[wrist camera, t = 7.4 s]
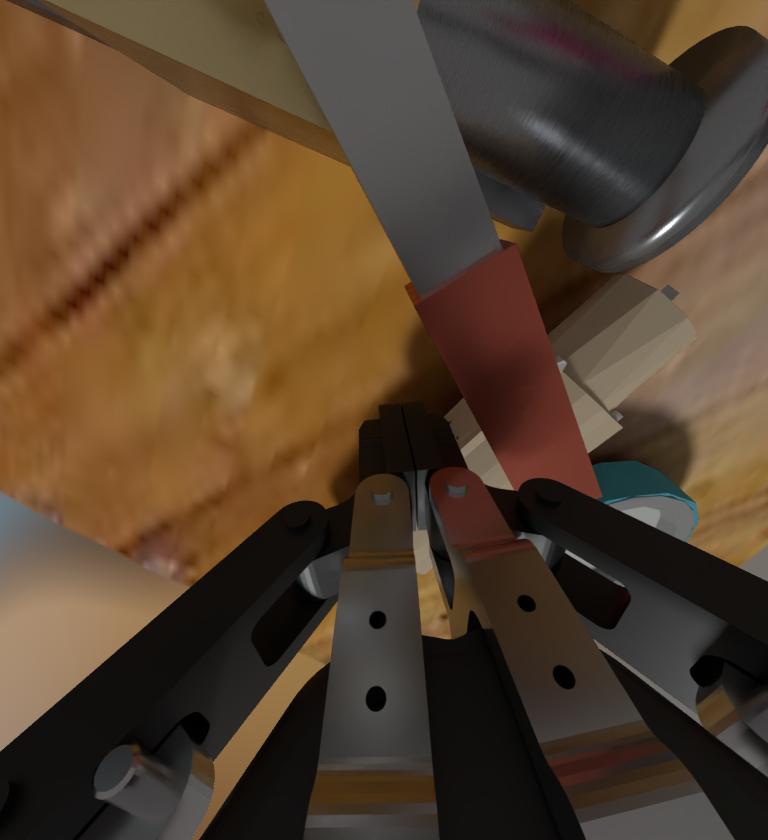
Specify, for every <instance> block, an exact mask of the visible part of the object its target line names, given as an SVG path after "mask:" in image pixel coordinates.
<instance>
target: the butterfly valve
mask: <svg viewBox="0 0 768 840" xmlns="http://www.w3.org/2000/svg"><path fill="white" fill-rule="evenodd" d="M678 293H679V292H677V291H676V290H675V289H673V288H672V287H671V286H669V285H667V286H666V287H665V288H664V289H662V290H661V291H659V290H658V289H656V288H654V287H652V286H650V285H648V284H646V283H644V282H641V281H639V280H637V279H635V278H633V277H631V276H629V275H627V274H621V275H616V276H613V277H612V278H611V279H610V280H609V281H608V282H606V283H605V284H604V285H603V286H602V287H601V288H600V289H599V290H597V291H596V292H595V293H594V294H593V295H592V296H591V297H590V298H588V299H587V300H586V301H585V302H584V303H583V304H582V305H581V306H579V307H578V308H577V309H576V310H575V311H574V312H573V313H572V314H570V315H569V316H568V317H567V318H566V319H565V320H564V321H563V322H561V323H560V324H559V325H558V326H557V327H556V328H555V329H553V330H552V331H551V332H550V333H549V334H548V338H549V341H550V344H551V347H552V350H553V353H554V356H555V359H556V362H557V365H558V368H559V371H560V374H561V376H562V379H563V382H564V385H565V388H566V391H567V394H568V397H569V400H570V403H571V406H572V409H573V412H574V415H575V417H576V420H577V423H578V426H579V429H580V432H581V435H582V438H583V441H584V444H585V447H586V450H587V453H590V452H591V451H592V450H594V449H595V448H596V447H598V446H599V445H600V444H602V443H603V442H604V441H606V440H607V439H608V438H610V437H611V436H613V435H614V434H615V433H617V432H618V431H619V430H621V429H622V428H623V427H622V426H621V425H620V424H619V423H618V421H619V420H620V419H621V418H622V417H623V416H622V415H621V414H620V413H619V412H617V411H616V410H615V408H616V407H617V406H618V405H619V404H620V403H621V402H622V401H623V400H624V399H625V398H626V397H627V396H629V395H630V394H631V393H632V392H633V391H634V390H635V389H636V388H637V387H638V386H640V385H641V384H642V383H643V382H644V381H646V380H647V379H648V378H649V377H651V376H652V375H653V374H654V373H655V372H657V371H658V370H659V369H660V368H661V367H663V366H664V365H665V364H666V363H667V362H669V361H670V360H671V359H672V358H674V357H675V356H676V355H677V354H678V353H680V352H681V351H682V350H683V349H684V348H686V347H687V346H688V345H689V344H690V343H692V342H693V341H694V340H695V339H696V338H697V336H698V335H697V333H696V331H695V328H694V326H693V324H692V322H691V320H690V318H689V316H687V315H686V314H685V313H684V312H683V311H682V310H681V309H680V308H678V307H677V306H676V305H675V304H674V303H673V302H672V300H673V299H674V298H675V297H676V296H677V295H678ZM444 418H445V419H446V420H447V421H448V422H449V424H450V427H451V429H452V433H453V434H454V436H455V439H456V441H457V443H458V446H459V448H460V450H461V453H462V455H463V457H464V460H465V462H466V464H467V467H468V469H469V470H471V471H472V472H474V473H476V474H477V475H478V476H479V477H480V478H481V480H482V481H483V483H484V484H486V485H488V486H491V487H495V488H500V489H507V490H514V489H513V487H512V485H511V484H510V482H509V480H508V478H507V476H506V474H505V473H504V471H503V469H502V467H501V465H500V463H499V461H498V460H497V458H496V456H495V454H494V452H493V450H492V449H491V447H490V445H489V443H488V441H487V439H486V438H485V436H484V434H483V432H482V430H481V428H480V427H479V425H478V423H477V421H476V419H475V417H474V415H473V414H472V412H471V410H470V408H469V406H468V404H467V403H466V401H465V399H464V398H463V399H462V400H461V401H460V402H459V403H458V404H456V405H455V406H454V407H453V408H452V409H451V410H450V411H449V412H448V413H447V414H446V415H445V416H444ZM592 467H593V470H594V473H595V476H596V479H597V482H598V485H599V488H600V491H601V494H602V497H600V498H598V499H596V500H598V501H601V502H603V503H605V504H607V505H609V506H611V507H613V508H615V509H617V510H619V511H621V512H623V513H626V514H628V515H630V516H632V517H634V518H636V519H638V520H640V521H642V522H644V523H646V524H649V525H651V526H653V527H655V528H657V529H659V530H661V531H663V532H665V533H667V534H669V535H671V536H674V537H676V538H678V539H680V540H682V541H684V542H686V541H687V540H688V539H689V537H690V535H691V533H692V531H693V530H694V528H695V526H696V524H697V522H698V520H699V518H698V512H697V506H696V502H694V501H693V500H692V499H691V498H690V497H689V496H688V495H687V494H685V493H684V492H683V491H682V490H681V489H680V488H679V487H677V486H676V485H675V484H674V483H673V482H672V481H671V480H670V479H668V478H667V477H666V476H665V475H664V474H663V473H662V472H661V471H659V470H657V469H654V468H652V467H650V466H647V465H645V464H642V463H640V462H638V461H635V460H634V461H619V462H604V463H598V464H594V465H592ZM413 548H414V554H415V562H416V573H420V574H426V573H427V572H428V571H430V570H431V569H432V568H433V565H432V562H431V558H430V555H429V538H428V533H427V530H419V531H418V527H417V522H416V531H413ZM565 553H566V554H568V555H570V556H571V557H573V558H575V559H576V560H578V561H580V562H581V563H583V564H584V565H586V566H588V567H589V568H591V569H593V570H594V571H596V572H598V573H599V574H601V575H603V576H604V577H606V578H608V579H609V580H611V581H612V582H614V583H616V584H618V585H620V586H622V585H623V584H621V583H620V582H619V581H617V580H616V579H614V578H613V577H611V576H609V575H608V574H606V573H604V572H603V571H601V570H599V569H598V568H596V567H594V566H593V565H591V564H589V563H588V562H586V561H584V560H583V559H581V558H579V557H578V556H576V555H574V554H573V553H571V552H569V551H568V550H566V552H565Z"/></svg>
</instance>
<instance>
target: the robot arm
mask: <svg viewBox="0 0 768 840" xmlns="http://www.w3.org/2000/svg"><path fill="white" fill-rule="evenodd" d="M379 414H380V419H376V420H366V421H364V423H363V424H362V426H361V427H360V429H359V466H360V483H359V485H358V487H357V489H356V492H355V494H354V495H353V496H352V497H351V498H350V499H348V500H347V501H345V502H343V503H341V504H339V505H336V506H334V507H331V508H328V509H326V510H325V508H324V507H323V506H322V505H320V504H319V503H317V502H314V501H298V502H294V503H291V504H289V505H287V506H285V507H284V508H282V509H281V510H280V511H278V512H277V513H276V514H275V515H274V516H273V517H271V518H270V519H269V520H268V521H267V522H266V523H264V524H263V525H262V526H261V527H260V528H259V529H257V530H256V531H255V532H254V533H253V534H252V535H251V536H249V537H248V538H247V539H246V540H245V541H244V542H242V543H241V544H240V545H239V546H238V547H237V548H235V549H234V550H233V551H232V552H231V553H230V554H229V555H227V556H226V557H225V558H224V559H223V560H222V561H220V562H219V563H218V564H217V565H216V566H215V567H213V568H212V569H211V570H210V571H209V572H208V573H207V574H205V575H204V576H203V577H202V578H201V579H200V580H198V581H197V582H196V583H195V584H194V585H193V586H191V587H190V588H189V589H188V590H187V591H186V592H185V593H183V594H182V595H181V596H180V597H179V598H178V599H176V600H175V601H174V602H173V603H172V604H171V605H169V606H168V607H167V608H166V609H165V610H164V611H163V612H161V613H160V614H159V615H158V616H157V617H156V618H154V619H153V620H152V621H151V622H150V623H149V624H148V625H146V626H145V627H144V628H143V629H142V630H141V631H139V632H138V633H137V634H136V635H135V636H134V637H133V638H131V639H130V640H129V641H128V642H127V643H126V644H124V645H123V646H122V647H121V648H120V649H119V650H117V651H116V652H115V653H114V654H113V655H112V656H111V657H109V658H108V659H107V660H106V661H105V662H104V663H102V664H101V665H100V666H99V667H98V668H97V669H95V670H94V671H93V672H92V673H91V674H90V675H89V676H87V677H86V678H85V679H84V680H83V681H82V682H81V683H79V684H78V685H77V686H76V687H75V688H73V689H72V690H71V691H70V692H69V693H68V694H66V695H65V696H64V697H63V698H62V699H61V700H60V701H58V702H57V703H56V704H55V705H54V706H53V707H52V708H50V709H49V710H48V711H47V712H46V713H44V714H43V715H42V716H41V717H40V718H39V719H38V720H36V721H35V722H34V723H33V724H32V725H31V726H29V727H28V728H27V729H26V730H25V731H24V732H23V733H21V734H20V735H19V736H18V737H17V738H16V739H14V740H13V741H12V742H11V743H10V744H9V745H7V746H6V747H5V748H4V749H3V750H2V751H0V840H191V839H192V838H193V836H194V834H195V833H196V831H197V829H198V827H199V825H200V824H201V822H202V821H203V818H204V816H205V814H206V812H207V810H208V807H209V804H210V801H211V797H212V794H213V789H214V782H215V771H214V764H213V761H214V760H215V759H216V758H217V756H218V755H219V753H220V752H221V751H222V750H223V748H224V747H225V746H226V745H227V743H228V742H229V741H230V739H231V738H232V737H233V735H234V734H235V733H236V732H237V730H238V729H239V728H240V726H241V725H242V724H243V723H244V721H245V720H246V719H247V717H248V716H249V715H250V714H251V712H252V711H253V710H254V708H255V707H256V706H257V704H258V703H259V702H260V701H261V699H262V698H263V697H264V695H265V694H266V693H267V691H268V690H269V689H270V687H271V686H272V685H273V684H274V682H275V681H276V680H277V678H278V677H279V676H280V675H281V673H282V672H283V671H284V670H285V668H286V667H287V666H288V664H289V663H290V662H291V660H292V659H293V658H294V657H295V655H296V654H297V653H298V651H299V650H300V649H301V648H302V646H303V645H304V644H305V642H306V641H307V640H308V638H309V637H310V636H311V635H312V633H313V632H314V631H315V629H316V628H317V627H318V625H319V624H320V623H321V622H322V620H323V619H324V618H325V616H326V615H327V614H328V613H329V611H330V610H331V609H332V607H333V606H334V605H335V603H336V602H337V601H338V603H337V611H336V619H335V628H334V636H333V644H332V653H331V661H330V663H328V664H327V665H326V666H324V667H323V668H322V669H321V670H319V671H318V672H317V673H316V674H315V675H314V676H313V677H312V678H311V679H310V680H309V681H308V682H307V683H306V684H305V685H304V686H303V688H302V689H301V690H300V691H299V692H298V693H297V695H296V696H295V698H294V699H293V701H292V702H291V703H290V705H289V707H288V708H287V709H286V711H285V712H284V714H283V715H282V717H281V718H280V720H279V721H278V723H277V724H276V726H275V727H274V729H273V730H272V732H271V733H270V735H269V736H268V738H267V739H266V741H265V742H264V744H263V745H262V747H261V748H260V750H259V751H258V753H257V754H256V756H255V757H254V759H253V760H252V762H251V763H250V765H249V766H248V768H247V769H246V771H245V772H244V774H243V775H242V776H241V778H240V779H239V781H238V783H237V784H236V786H235V787H234V789H233V790H232V791H231V793H230V795H229V796H228V798H227V799H226V800H225V802H224V804H223V805H222V807H221V808H220V809H219V811H218V812H217V814H216V815H215V817H214V818H213V820H212V821H211V823H210V824H209V826H208V827H207V829H206V830H205V832H204V833H203V835H202V836H201V838H200V839H199V840H768V582H767V581H765V580H763V579H761V578H759V577H757V576H755V575H753V574H751V573H749V572H747V571H744V570H742V569H740V568H738V567H736V566H734V565H732V564H730V563H728V562H726V561H724V560H722V559H719V558H717V557H715V556H713V555H711V554H709V553H707V552H705V551H703V550H701V549H699V548H697V547H694V546H692V545H690V544H688V543H686V542H684V541H682V540H680V539H678V538H676V537H674V536H671V535H669V534H667V533H665V532H663V531H661V530H659V529H657V528H655V527H653V526H651V525H649V524H646V523H644V522H642V521H640V520H638V519H636V518H634V517H632V516H630V515H628V514H626V513H623V512H621V511H619V510H617V509H615V508H613V507H611V506H609V505H607V504H605V503H603V502H601V501H598V500H596V499H594V498H592V497H590V496H588V495H586V494H584V493H582V492H580V491H578V490H575V489H573V488H571V487H569V486H567V485H565V484H563V483H561V482H558V481H556V480H552V479H548V478H533V479H529V480H527V481H525V482H524V483H522V484H521V486H520V487H519V490H518V491H515V490H507V489H500V488H495V487H491V486H488V485H486V484H484V483H483V481H482V480H481V478H480V477H479V476H478V475H477V474H476V473H474V472H472V471H471V470H469V469H468V467H467V464H466V462H465V460H464V457H463V455H462V453H461V450H460V448H459V446H458V443H457V441H456V439H455V436H454V434H453V433H452V429H451V427H450V424H449V422H448V421H447V420H446V419H445V418H444V417H442V416H441V415H440V414H428V415H427V414H426V411H425V408H424V405H423V402H422V401H414V402H404V403H401V407H400V403H394V404H384V405H379ZM416 522H417V527H418V531H419V530H427V533H428V538H429V555H430V558H431V562H432V565H433V568H434V572H435V575H436V578H437V582H438V585H439V588H440V592H441V595H442V598H443V602H444V605H445V608H446V611H447V615H448V619H449V624H450V630H451V638H452V639H450V640H449V639H441V638H436V637H430V636H424V635H422V633H421V621H420V609H419V597H418V585H417V573H416V562H415V554H414V548H413V531H416ZM566 550H568V551H569V552H571V553H573V554H574V555H576V556H578V557H579V558H581V559H583V560H584V561H586V562H588V563H589V564H591V565H593V566H594V567H596V568H598V569H599V570H601V571H603V572H604V573H606V574H608V575H609V576H611V577H613V578H614V579H616V580H617V581H619V582H620V583H621V584H623V585H624V586H625V587H622V586H620V585H618V584H616V583H614V582H612V581H611V580H609V579H608V578H606V577H604V576H603V575H601V574H599V573H598V572H596V571H594V570H593V569H591V568H589V567H588V566H586V565H584V564H583V563H581V562H580V561H578V560H576V559H575V558H573V557H571V556H570V555H568V554H566V553H565V552H566ZM593 639H595V640H596V641H597V642H599V643H600V644H602V645H603V646H605V647H606V648H607V649H608V650H610V651H611V652H613V653H614V654H615V655H617V656H618V657H619V658H621V659H623V661H625V662H626V663H628V664H629V665H630V666H632V667H633V668H634V669H636V670H637V671H639V672H640V673H641V674H643V675H644V676H646V677H647V678H648V679H650V680H651V681H652V682H654V683H655V684H657V685H658V686H659V687H660V688H662V689H663V690H665V691H666V692H668V693H669V694H670V695H671V696H673V697H674V698H676V699H677V700H678V701H680V702H681V703H682V704H684V705H685V706H687V707H688V708H690V709H691V710H692V711H693V712H695V713H696V714H698V716H699V719H700V721H701V724H702V726H703V727H702V726H701V725H700V724H698V723H697V722H696V721H695V720H693V719H692V718H691V717H689V716H688V715H687V714H685V713H684V712H683V711H682V710H680V709H679V708H678V707H676V706H675V705H674V704H673V703H671V702H670V701H669V700H667V699H666V698H665V697H664V696H662V695H661V694H660V693H658V692H657V691H656V690H655V689H653V688H652V687H651V686H649V685H648V684H647V683H646V682H644V681H643V680H642V679H640V678H639V677H638V676H636V675H635V674H634V673H633V672H631V671H630V670H629V669H627V668H626V667H625V666H624V665H622V664H621V663H620V662H618V661H617V660H616V659H614V658H612V657H611V656H610V655H608V654H607V653H605V652H603V651H602V650H600V649H599V648H598V646H597V644H596V643H595V641H594V640H593Z"/></svg>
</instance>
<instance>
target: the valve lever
mask: <svg viewBox="0 0 768 840" xmlns="http://www.w3.org/2000/svg"><path fill="white" fill-rule="evenodd" d="M263 1H264V3H265V5H266V7H267V9H268V11H269V13H270V15H271V17H272V19H273V20H274V22H275V24H276V26H277V28H278V30H279V32H280V34H281V36H282V38H283V39H284V41H285V43H286V45H287V47H288V49H289V51H290V53H291V55H292V57H293V58H294V60H295V62H296V64H297V66H298V68H299V70H300V72H301V74H302V75H303V77H304V79H305V81H306V83H307V85H308V87H309V89H310V91H311V93H312V94H313V96H314V98H315V100H316V102H317V104H318V106H319V108H320V110H321V112H322V113H323V115H324V117H325V119H326V121H327V123H328V125H329V127H330V129H331V130H332V132H333V134H334V136H335V138H336V140H337V142H338V144H339V146H340V148H341V149H342V151H343V153H344V155H345V157H346V159H347V161H348V163H349V165H350V167H351V168H352V170H353V172H354V174H355V176H356V178H357V180H358V182H359V184H360V185H361V187H362V189H363V191H364V193H365V195H366V197H367V199H368V201H369V203H370V204H371V206H372V208H373V210H374V212H375V214H376V216H377V218H378V220H379V222H380V223H381V225H382V227H383V229H384V231H385V233H386V235H387V237H388V239H389V240H390V242H391V244H392V246H393V248H394V250H395V252H396V254H397V256H398V258H399V259H400V261H401V263H402V265H403V267H404V269H405V271H406V273H407V275H408V277H409V278H410V280H411V282H410V283H409V284H407V285H405V286H404V287H405V289H406V291H407V293H408V295H409V297H410V299H411V301H412V303H413V305H414V307H415V309H416V311H417V312H418V314H419V316H420V318H421V320H422V322H423V324H424V325H425V327H426V329H427V331H428V333H429V335H430V336H431V338H432V340H433V342H434V344H435V346H436V347H437V349H438V351H439V353H440V355H441V357H442V358H443V360H444V362H445V364H446V366H447V368H448V370H449V371H450V373H451V375H452V377H453V379H454V381H455V382H456V384H457V386H458V388H459V390H460V392H461V393H462V395H463V397H464V399H465V401H466V403H467V404H468V406H469V408H470V410H471V412H472V414H473V415H474V417H475V419H476V421H477V423H478V425H479V427H480V428H481V430H482V432H483V434H484V436H485V438H486V439H487V441H488V443H489V445H490V447H491V449H492V450H493V452H494V454H495V456H496V458H497V460H498V461H499V463H500V465H501V467H502V469H503V471H504V473H505V474H506V476H507V478H508V480H509V482H510V484H511V485H512V487H513V489H514V490H515V491H518V490H519V487H520V486H521V484H522V483H524V482H525V481H527V480H529V479H533V478H548V479H552V480H556V481H558V482H561V483H563V484H565V485H567V486H569V487H571V488H573V489H575V490H578V491H580V492H582V493H584V494H586V495H588V496H590V497H592V498H594V499H598V498H600V497H602V494H601V491H600V488H599V485H598V482H597V479H596V476H595V473H594V470H593V467H592V464H591V461H590V458H589V456H588V453H587V450H586V447H585V444H584V441H583V438H582V435H581V432H580V429H579V426H578V423H577V420H576V417H575V415H574V412H573V409H572V406H571V403H570V400H569V397H568V394H567V391H566V388H565V385H564V382H563V379H562V376H561V374H560V371H559V368H558V365H557V362H556V359H555V356H554V353H553V350H552V347H551V344H550V341H549V338H548V335H547V333H546V330H545V327H544V324H543V321H542V318H541V315H540V312H539V309H538V306H537V303H536V300H535V297H534V294H533V291H532V289H531V286H530V283H529V280H528V277H527V274H526V271H525V268H524V265H523V262H522V259H521V256H520V253H519V250H518V248H517V245H516V243H512V242H509V241H505V240H501V239H499V237H498V235H497V232H496V229H495V226H494V224H493V221H492V218H491V215H490V213H489V210H488V207H487V204H486V202H485V199H484V196H483V193H482V191H481V188H480V185H479V182H478V180H477V177H476V174H475V171H474V169H473V166H472V163H471V161H470V158H469V155H468V152H467V150H466V147H465V144H464V141H463V139H462V136H461V133H460V130H459V128H458V125H457V122H456V119H455V117H454V114H453V111H452V108H451V106H450V103H449V100H448V97H447V95H446V92H445V89H444V86H443V84H442V81H441V78H440V75H439V73H438V70H437V67H436V64H435V62H434V59H433V56H432V53H431V51H430V48H429V45H428V42H427V40H426V37H425V34H424V31H423V29H422V26H421V23H420V20H419V18H418V15H417V12H416V10H415V7H414V4H413V1H412V0H263Z"/></svg>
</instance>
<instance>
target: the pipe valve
mask: <svg viewBox="0 0 768 840" xmlns="http://www.w3.org/2000/svg"><path fill="white" fill-rule="evenodd" d="M8 1H10V2H12V3H14V4H17V5H19V6H21V7H23V8H25V9H28V10H30V11H32V12H34V13H37V14H39V15H41V16H43V17H45V18H48V19H50V20H52V21H54V22H56V23H59V24H61V25H63V26H65V27H68V28H70V29H72V30H74V31H76V32H79V33H81V34H83V35H85V36H88V37H90V38H92V39H94V40H96V41H99V42H101V43H103V44H105V45H107V46H110V47H112V48H114V49H116V50H118V51H119V52H121V53H122V54H124V55H126V56H127V57H129V58H130V59H132V60H134V61H135V62H137V63H138V64H140V65H142V66H143V67H145V68H147V69H148V70H150V71H151V72H153V73H155V74H156V75H158V76H159V77H161V78H163V79H164V80H166V81H167V82H169V83H171V84H172V85H174V86H175V87H177V88H179V89H180V90H182V91H184V92H185V93H187V94H188V95H190V96H192V97H195V98H197V99H199V100H201V101H204V102H206V103H208V104H210V105H213V106H215V107H217V108H220V109H222V110H224V111H226V112H229V113H231V114H233V115H235V116H238V117H240V118H242V119H244V120H247V121H249V122H251V123H253V124H256V125H258V126H260V127H262V128H265V129H267V130H269V131H271V132H274V133H276V134H278V135H280V136H283V137H285V138H287V139H289V140H292V141H294V142H296V143H298V144H301V145H303V146H305V147H307V148H310V149H312V150H314V151H316V152H319V153H321V154H323V155H325V156H328V157H330V158H332V159H334V160H337V161H339V162H341V163H344V164H346V165H348V166H350V165H349V163H348V161H347V159H346V157H345V155H344V153H343V151H342V149H341V148H340V146H339V144H338V142H337V140H336V138H335V136H334V134H333V132H332V130H331V129H330V127H329V125H328V123H327V121H326V119H325V117H324V115H323V113H322V112H321V110H320V108H319V106H318V104H317V102H316V100H315V98H314V96H313V94H312V93H311V91H310V89H309V87H308V85H307V83H306V81H305V79H304V77H303V75H302V74H301V72H300V70H299V68H298V66H297V64H296V62H295V60H294V58H293V57H292V55H291V53H290V51H289V49H288V47H287V45H286V43H285V41H284V39H283V38H282V36H281V34H280V32H279V30H278V28H277V26H276V24H275V22H274V20H273V19H272V17H271V15H270V13H269V11H268V9H267V7H266V5H265V3H264V1H263V0H8ZM412 1H413V4H414V7H415V10H416V12H417V15H418V18H419V20H420V23H421V26H422V29H423V31H424V34H425V37H426V40H427V42H428V45H429V48H430V51H431V53H432V56H433V59H434V62H435V64H436V67H437V70H438V73H439V75H440V78H441V81H442V84H443V86H444V89H445V92H446V95H447V97H448V100H449V103H450V106H451V108H452V111H453V114H454V117H455V119H456V122H457V125H458V128H459V130H460V133H461V136H462V139H463V141H464V144H465V147H466V150H467V152H468V155H469V158H470V161H471V163H472V166H473V169H474V171H475V174H476V177H477V180H478V182H479V185H480V188H481V191H482V193H483V196H484V199H485V202H486V204H487V207H488V210H489V213H490V215H491V218H492V219H493V220H495V221H497V222H500V223H502V224H504V225H506V226H508V227H511V228H513V229H519V230H525V231H531V232H532V231H533V229H534V227H535V225H536V223H537V221H538V220H539V218H540V216H541V214H542V212H543V210H544V208H545V206H546V205H548V206H550V207H552V208H554V209H556V210H558V211H561V212H563V213H565V214H566V215H565V219H564V223H563V230H562V242H563V247H564V251H565V253H566V254H567V256H568V257H569V258H570V259H572V260H574V261H576V262H578V263H580V264H583V265H585V266H587V267H589V268H592V269H594V270H596V271H598V272H602V273H617V272H622V271H626V270H629V269H632V268H635V267H637V266H639V265H642V264H644V263H646V262H648V261H650V260H651V259H653V258H655V257H657V256H658V255H660V254H662V253H663V252H665V251H666V250H668V249H669V248H671V247H672V246H674V245H675V244H676V243H678V242H679V241H680V240H682V239H683V238H684V237H685V236H687V235H688V234H689V233H690V232H692V231H693V230H694V229H695V228H696V227H697V226H698V225H700V224H701V223H702V222H703V221H704V220H705V219H706V218H707V217H708V216H709V215H710V214H711V213H712V212H713V211H714V210H715V209H716V208H717V207H718V206H719V205H720V204H721V203H722V202H723V201H724V200H725V199H726V198H727V197H728V196H729V195H730V193H731V192H732V191H733V190H734V189H735V188H736V187H737V185H738V184H739V183H740V182H741V180H742V179H743V178H744V177H745V175H746V174H747V173H748V172H749V170H750V169H751V168H752V166H753V165H754V163H755V162H756V160H757V159H758V158H759V156H760V155H761V153H762V152H763V150H764V149H765V147H766V145H767V144H768V39H766V38H765V37H764V36H762V35H761V34H760V33H758V32H757V31H756V30H754V29H752V28H750V27H747V26H735V27H730V28H726V29H723V30H721V31H719V32H716V33H714V34H712V35H710V36H708V37H707V38H705V39H703V40H701V41H700V42H698V43H697V44H695V45H694V46H692V47H691V48H689V49H688V50H687V51H685V52H684V53H683V54H681V55H680V56H679V57H678V58H676V59H675V60H674V61H673V62H672V63H670V64H669V65H667V64H666V63H664V62H663V61H661V60H660V59H658V58H657V57H655V56H654V55H652V54H651V53H649V52H647V51H646V50H644V49H643V48H641V47H640V46H638V45H637V44H635V43H634V42H632V41H631V40H629V39H628V38H626V37H625V36H623V35H622V34H620V33H618V32H617V31H615V30H614V29H612V28H611V27H609V26H608V25H606V24H605V23H603V22H602V21H600V20H599V19H597V18H596V17H594V16H592V15H591V14H589V13H588V12H586V11H585V10H583V9H582V8H580V7H579V6H577V5H576V4H574V3H573V2H571V1H570V0H412Z"/></svg>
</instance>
